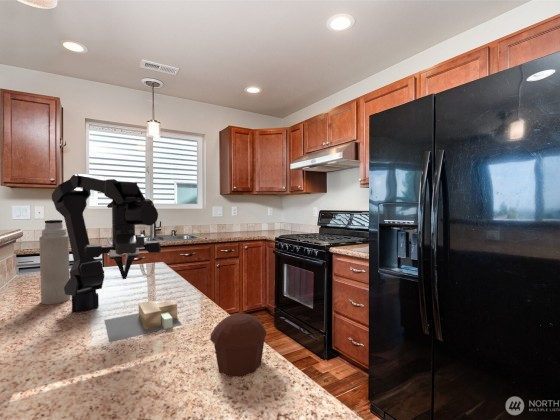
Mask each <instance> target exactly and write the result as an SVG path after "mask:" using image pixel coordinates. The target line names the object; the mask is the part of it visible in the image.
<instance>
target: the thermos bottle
mask: <svg viewBox="0 0 560 420" xmlns="http://www.w3.org/2000/svg"><path fill="white" fill-rule="evenodd" d="M44 224H45V225H44V229H42V230H41V236H39V266H40V268H39V269H40V270H39V271H40V273H39V274H40V303H41V304H42V305H57V304H60V303H64V302H67V301H69V300H70V299H71V295H66V294H65V291H64V287H65V285H66V284H67V282H68V281H69V279H70V246H69V245H70V241H69V237H68V234H67V228H64V227H63V226H64V225H63V219H48V220H44Z"/></svg>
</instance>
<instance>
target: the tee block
mask: <svg viewBox="0 0 560 420" xmlns="http://www.w3.org/2000/svg"><path fill="white" fill-rule="evenodd" d="M155 302H156V301H154V300H148V301H143V302H138V313H139V318H140V320H141V322H142V324H143V326H144V328H145V329H148V328H153V327H157V326H161V313H165V312H168V313H169V314H170V315H171V317H172V319H174V318H177V319H178V303H177V302H176V301H175V299H172V300H166V301H161V302H160V301H159V302H160V303H155Z"/></svg>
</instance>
